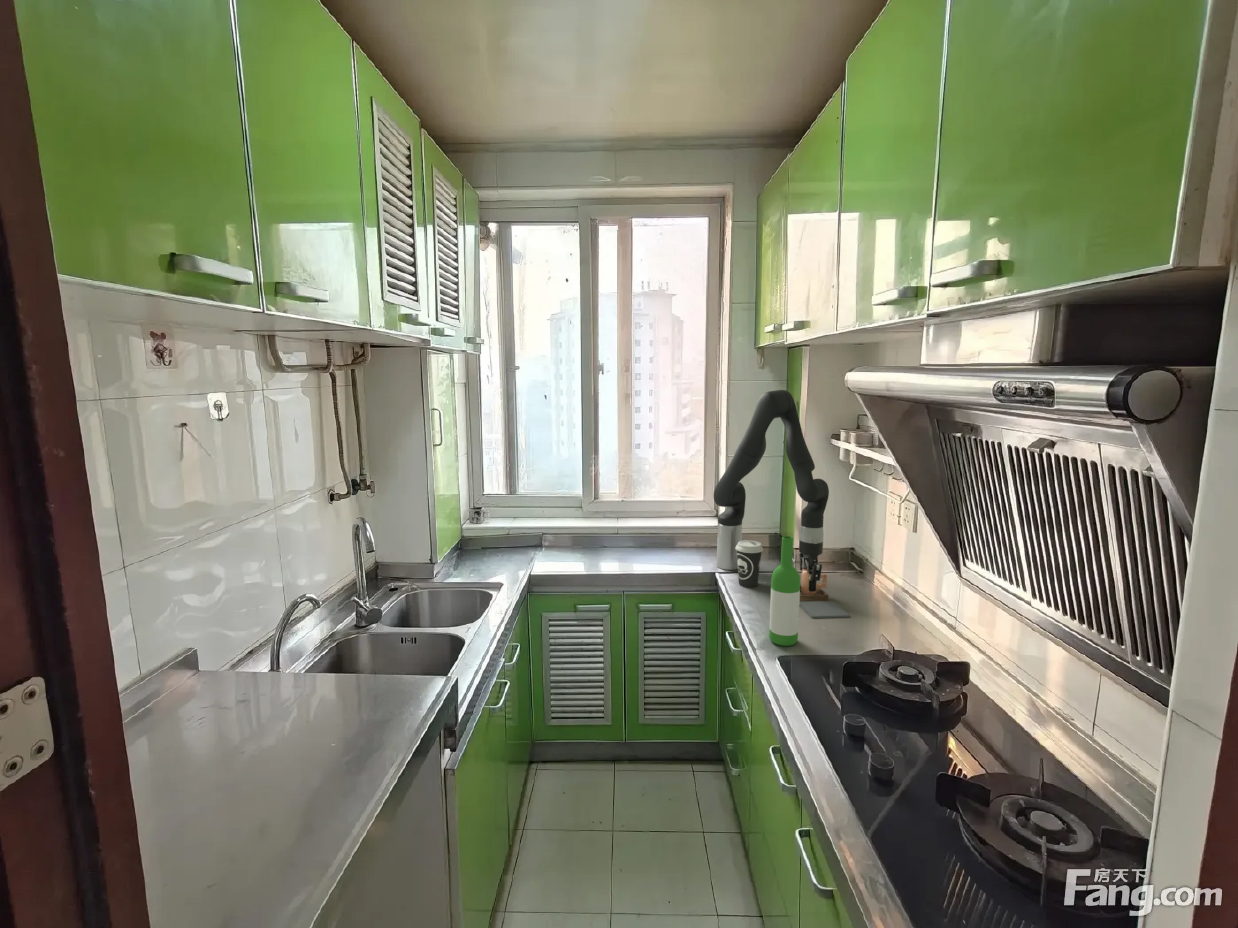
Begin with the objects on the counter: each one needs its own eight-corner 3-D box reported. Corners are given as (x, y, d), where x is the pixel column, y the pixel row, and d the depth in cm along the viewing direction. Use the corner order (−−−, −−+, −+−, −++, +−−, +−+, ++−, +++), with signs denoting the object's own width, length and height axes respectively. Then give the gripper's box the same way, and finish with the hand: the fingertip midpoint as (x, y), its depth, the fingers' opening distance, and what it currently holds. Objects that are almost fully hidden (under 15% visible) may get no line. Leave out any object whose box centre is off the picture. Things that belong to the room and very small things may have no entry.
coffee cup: (762, 589, 210) (763, 547, 208) (734, 587, 212) (735, 546, 210) (761, 580, 219) (762, 540, 217) (734, 578, 221) (735, 538, 219)
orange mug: (804, 599, 201) (805, 573, 200) (798, 593, 206) (799, 568, 205) (828, 598, 202) (829, 572, 200) (822, 593, 207) (823, 567, 205)
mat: (797, 603, 198) (797, 601, 197) (833, 602, 198) (833, 600, 198) (811, 618, 186) (811, 616, 186) (849, 617, 186) (849, 615, 186)
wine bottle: (792, 634, 174) (797, 533, 169) (801, 647, 166) (806, 541, 162) (765, 635, 174) (769, 533, 169) (773, 647, 166) (777, 541, 161)
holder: (789, 591, 208) (789, 585, 208) (816, 590, 209) (817, 585, 209) (799, 601, 199) (800, 596, 198) (828, 601, 199) (828, 595, 199)
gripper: (792, 533, 208) (790, 581, 210) (808, 545, 194) (806, 596, 196) (814, 533, 208) (811, 580, 211) (831, 544, 194) (828, 595, 197)
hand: (809, 587), depth 203 cm, fingers closed on orange mug, 5 cm apart
